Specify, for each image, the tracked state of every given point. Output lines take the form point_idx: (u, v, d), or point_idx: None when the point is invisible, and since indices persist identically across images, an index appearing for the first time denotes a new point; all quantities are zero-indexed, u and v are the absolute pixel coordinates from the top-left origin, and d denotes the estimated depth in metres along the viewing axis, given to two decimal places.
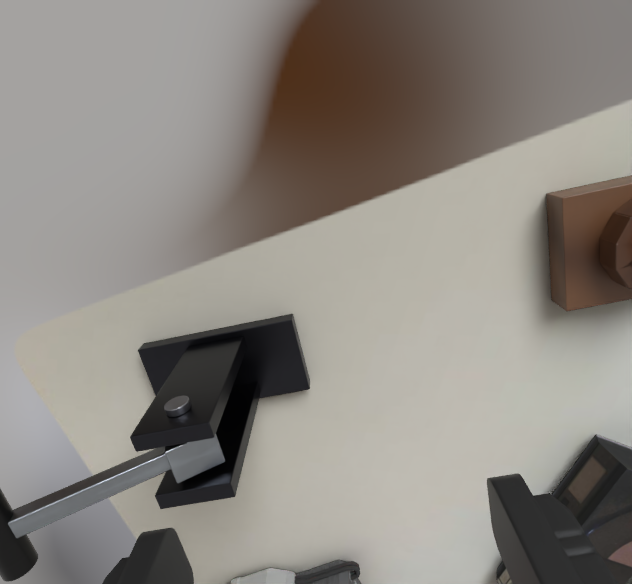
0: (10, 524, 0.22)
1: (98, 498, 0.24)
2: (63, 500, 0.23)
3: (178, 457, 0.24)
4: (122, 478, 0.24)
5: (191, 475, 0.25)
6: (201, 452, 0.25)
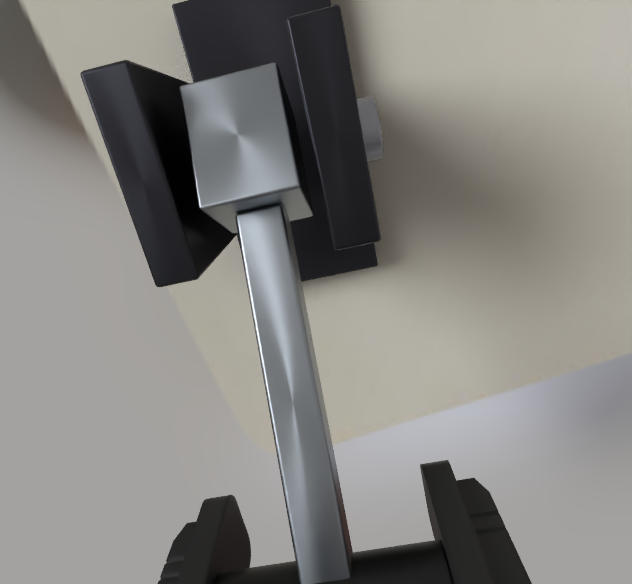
0: (305, 580, 0.09)
1: (303, 381, 0.09)
2: (281, 457, 0.09)
3: (223, 177, 0.09)
4: (266, 319, 0.10)
5: (286, 149, 0.09)
6: (230, 119, 0.09)
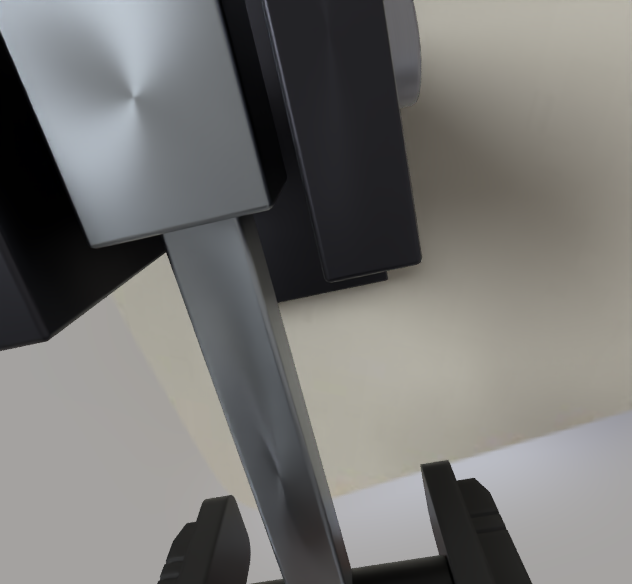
0: None
1: (292, 456, 0.07)
2: (270, 530, 0.08)
3: (122, 190, 0.05)
4: (233, 385, 0.07)
5: (239, 133, 0.05)
6: (110, 61, 0.04)
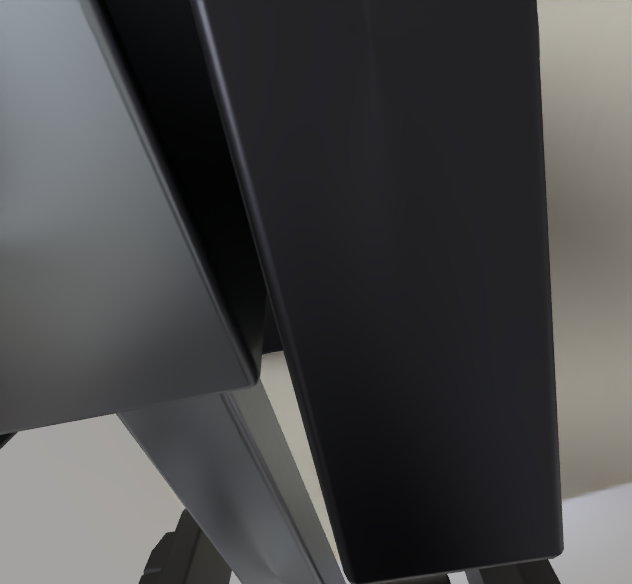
0: None
1: (290, 561, 0.06)
2: None
3: None
4: (213, 510, 0.05)
5: (191, 294, 0.02)
6: None
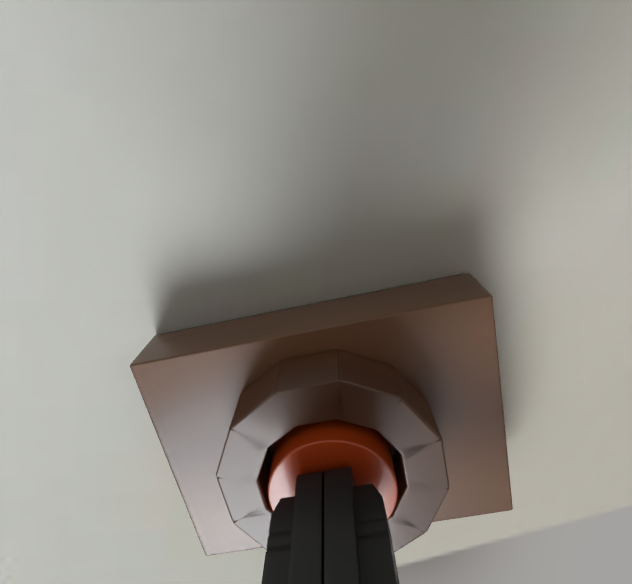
0: None
1: None
2: None
3: None
4: None
5: None
6: None
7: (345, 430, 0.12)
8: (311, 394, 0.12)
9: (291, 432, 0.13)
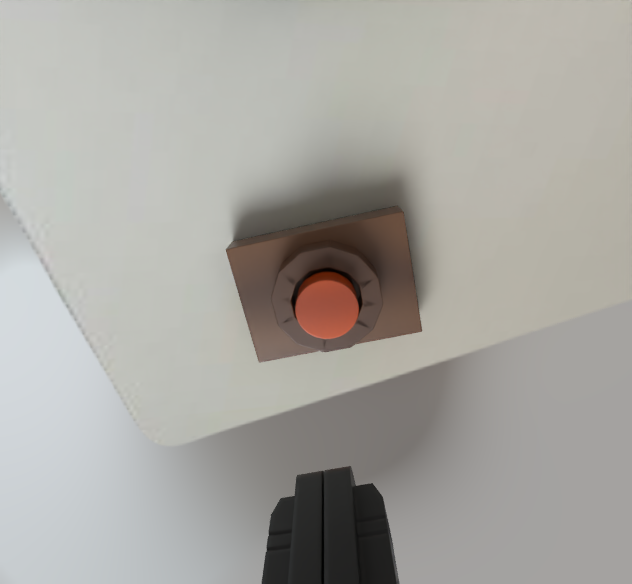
0: None
1: None
2: None
3: None
4: None
5: None
6: None
7: (333, 278, 0.25)
8: (317, 254, 0.25)
9: (306, 282, 0.26)
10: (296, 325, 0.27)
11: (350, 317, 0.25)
